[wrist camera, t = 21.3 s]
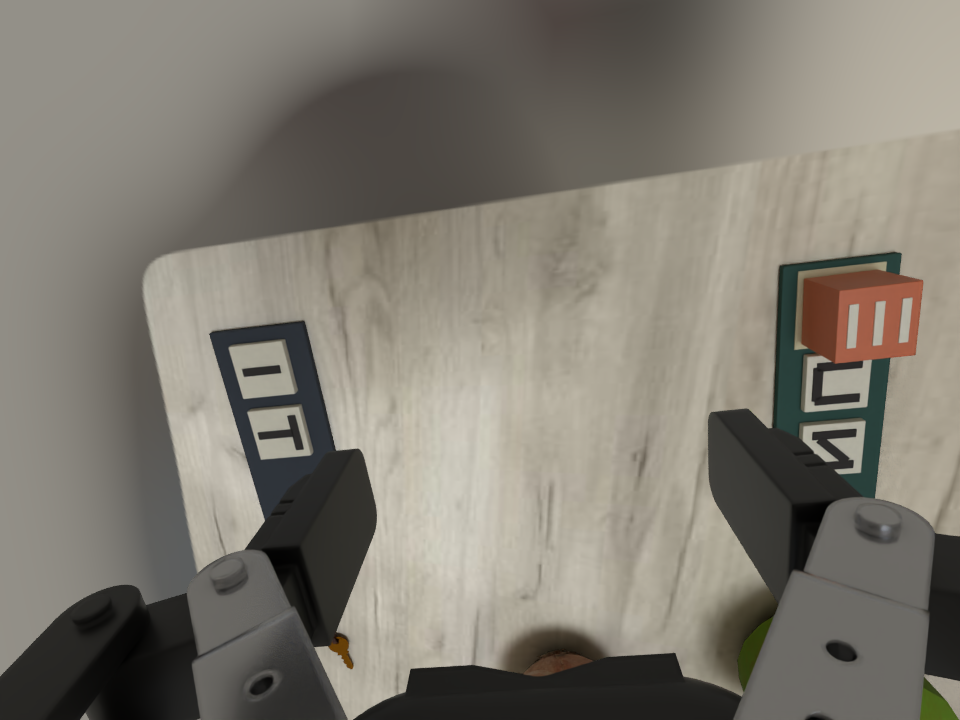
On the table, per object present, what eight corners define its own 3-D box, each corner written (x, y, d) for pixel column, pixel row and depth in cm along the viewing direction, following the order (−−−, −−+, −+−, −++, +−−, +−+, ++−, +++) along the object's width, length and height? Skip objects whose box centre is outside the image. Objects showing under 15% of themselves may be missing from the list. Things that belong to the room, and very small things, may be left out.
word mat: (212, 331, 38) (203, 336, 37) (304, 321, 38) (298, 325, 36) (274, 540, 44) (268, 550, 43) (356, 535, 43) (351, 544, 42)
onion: (592, 663, 49) (639, 797, 42) (494, 686, 48) (524, 830, 40) (609, 615, 43) (668, 762, 36) (497, 640, 42) (534, 800, 34)
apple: (738, 569, 41) (814, 704, 31) (899, 588, 41) (1033, 731, 30) (703, 689, 45) (760, 844, 35) (849, 707, 45) (952, 871, 34)
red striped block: (803, 278, 34) (840, 290, 30) (878, 269, 33) (925, 280, 29) (800, 344, 35) (835, 364, 31) (872, 336, 34) (916, 355, 31)
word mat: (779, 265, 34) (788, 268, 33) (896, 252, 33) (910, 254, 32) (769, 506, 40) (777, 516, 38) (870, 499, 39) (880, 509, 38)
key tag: (276, 616, 46) (273, 621, 46) (295, 596, 45) (292, 601, 45) (351, 668, 47) (349, 674, 47) (371, 649, 47) (369, 655, 46)
